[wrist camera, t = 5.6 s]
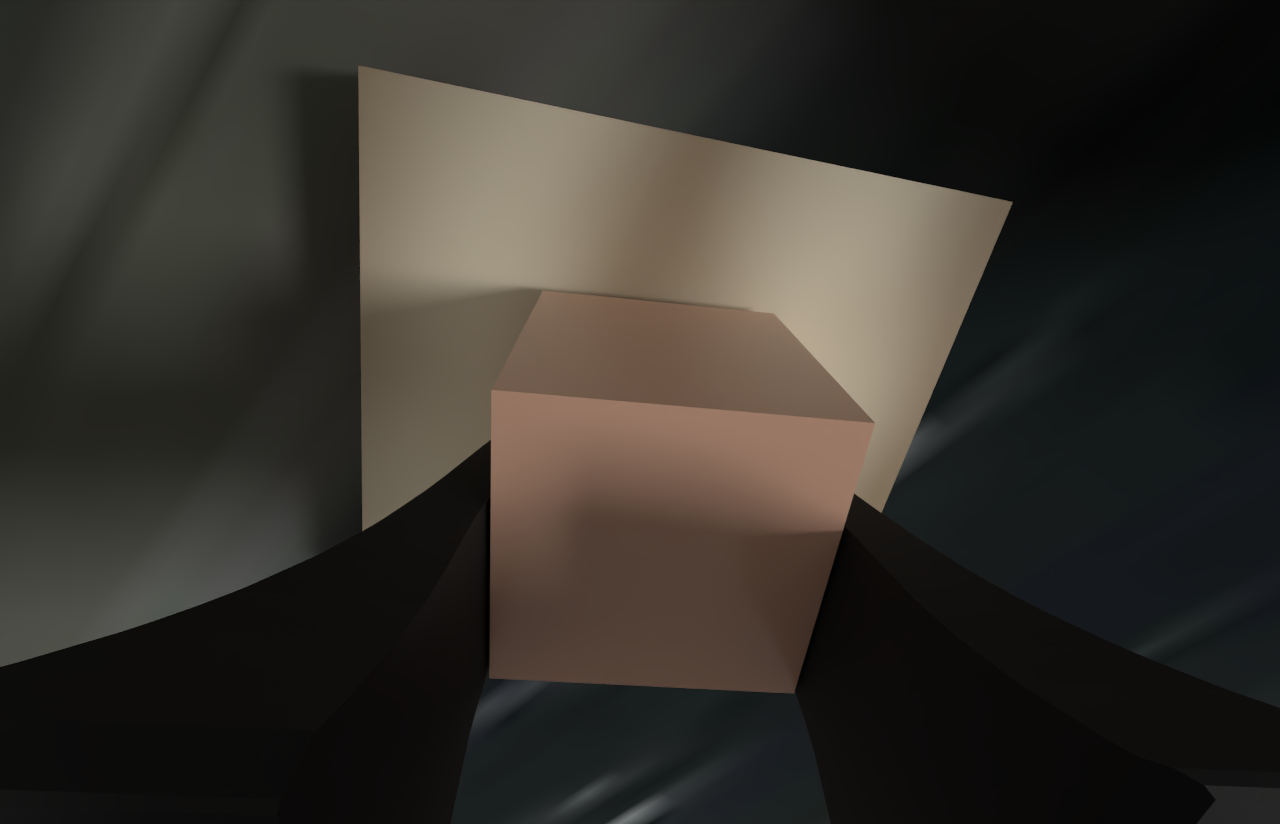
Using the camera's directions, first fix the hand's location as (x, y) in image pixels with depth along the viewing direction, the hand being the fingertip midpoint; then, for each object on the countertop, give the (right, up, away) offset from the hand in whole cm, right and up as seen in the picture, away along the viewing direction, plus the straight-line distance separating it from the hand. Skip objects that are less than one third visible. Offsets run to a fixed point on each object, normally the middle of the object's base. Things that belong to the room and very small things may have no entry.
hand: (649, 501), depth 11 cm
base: (0, +2, +4) cm, 5 cm away
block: (0, +2, +2) cm, 2 cm away
